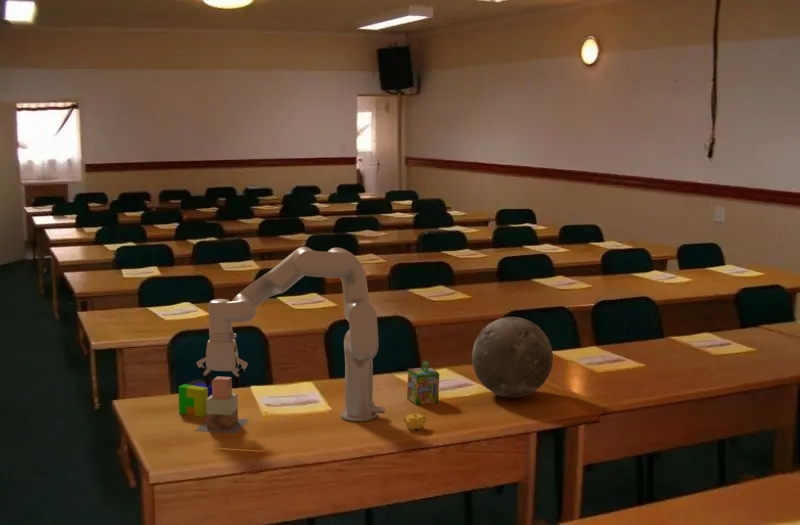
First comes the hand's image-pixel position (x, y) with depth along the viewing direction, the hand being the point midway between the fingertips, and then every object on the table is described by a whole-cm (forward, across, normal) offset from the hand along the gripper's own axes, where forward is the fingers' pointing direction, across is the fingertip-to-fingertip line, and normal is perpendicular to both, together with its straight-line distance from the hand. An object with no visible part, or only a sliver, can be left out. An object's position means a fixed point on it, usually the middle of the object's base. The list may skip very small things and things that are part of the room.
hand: (222, 386), depth 294 cm
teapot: (+15, -64, -8) cm, 66 cm away
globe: (+15, -94, -51) cm, 108 cm away
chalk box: (+15, -62, -39) cm, 75 cm away
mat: (+14, 0, 0) cm, 14 cm away
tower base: (+13, 0, 0) cm, 13 cm away
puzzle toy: (+14, +14, -13) cm, 23 cm away
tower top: (+8, 0, 0) cm, 8 cm away
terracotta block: (+3, 0, 0) cm, 3 cm away
